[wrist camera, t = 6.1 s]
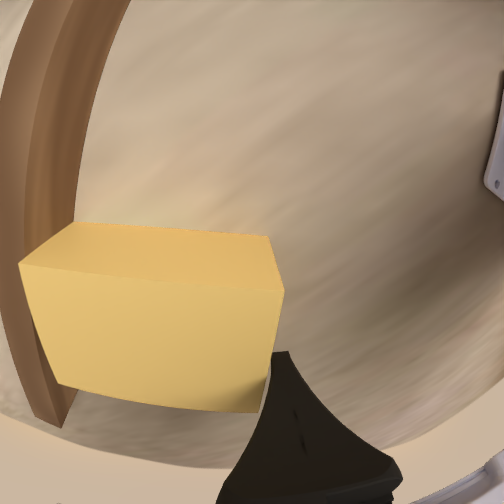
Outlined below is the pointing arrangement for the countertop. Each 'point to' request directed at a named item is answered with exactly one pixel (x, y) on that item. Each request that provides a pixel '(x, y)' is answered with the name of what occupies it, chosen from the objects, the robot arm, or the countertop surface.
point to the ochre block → (157, 313)
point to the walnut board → (45, 162)
